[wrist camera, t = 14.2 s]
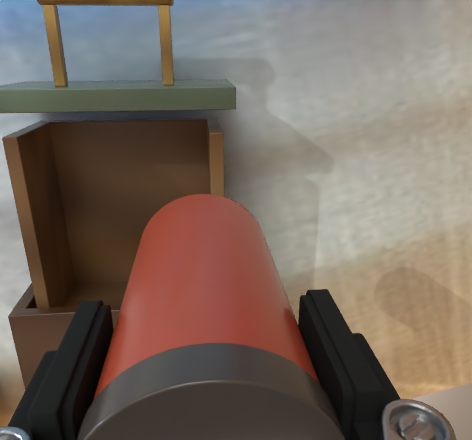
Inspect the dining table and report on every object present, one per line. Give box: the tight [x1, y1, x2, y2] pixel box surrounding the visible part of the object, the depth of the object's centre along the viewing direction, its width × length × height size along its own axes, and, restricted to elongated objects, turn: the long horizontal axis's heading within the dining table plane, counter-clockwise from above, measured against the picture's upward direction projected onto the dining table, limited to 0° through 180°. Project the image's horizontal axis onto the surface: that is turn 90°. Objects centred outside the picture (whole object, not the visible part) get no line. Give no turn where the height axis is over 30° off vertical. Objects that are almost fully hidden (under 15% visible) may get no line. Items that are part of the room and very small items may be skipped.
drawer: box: [0, 0, 236, 308], centre depth 27 cm, size 21×13×7 cm, turn 0°
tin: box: [77, 194, 346, 440], centre depth 12 cm, size 5×5×10 cm
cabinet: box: [8, 283, 122, 390], centre depth 33 cm, size 17×15×9 cm
